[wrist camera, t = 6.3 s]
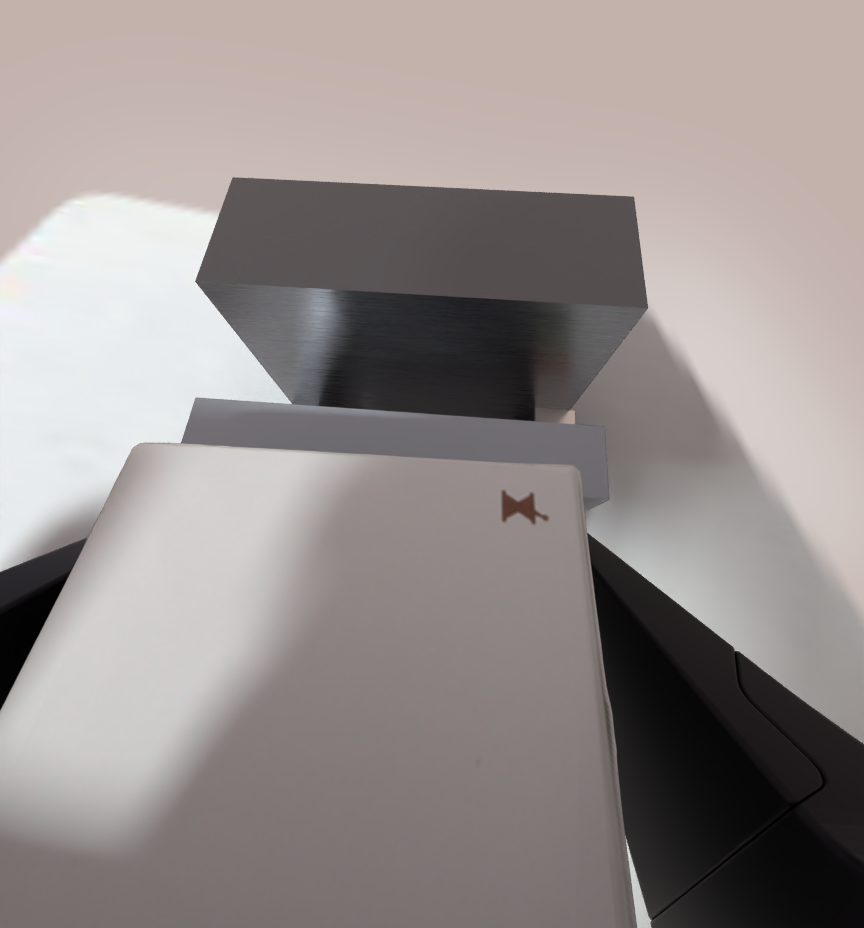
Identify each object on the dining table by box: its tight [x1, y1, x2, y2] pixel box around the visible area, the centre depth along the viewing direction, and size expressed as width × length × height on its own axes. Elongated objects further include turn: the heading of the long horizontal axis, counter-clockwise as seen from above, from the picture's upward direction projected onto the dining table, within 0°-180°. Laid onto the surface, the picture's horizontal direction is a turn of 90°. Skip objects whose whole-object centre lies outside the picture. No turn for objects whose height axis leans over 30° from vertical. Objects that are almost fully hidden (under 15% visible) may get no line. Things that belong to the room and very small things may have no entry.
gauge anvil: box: [195, 178, 648, 424], centre depth 14 cm, size 12×12×10 cm
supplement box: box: [0, 443, 637, 928], centre depth 10 cm, size 7×7×13 cm
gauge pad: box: [181, 398, 609, 512], centre depth 12 cm, size 2×10×10 cm, turn 85°
